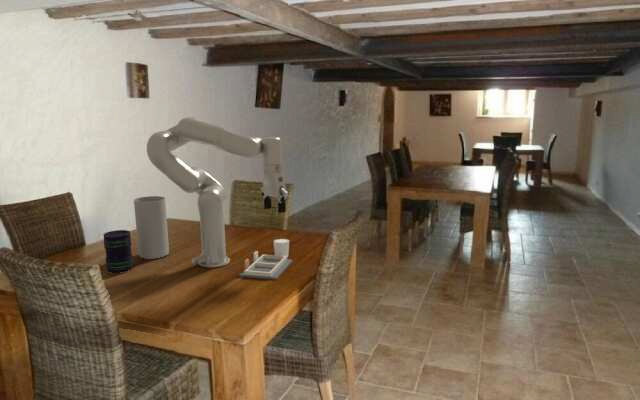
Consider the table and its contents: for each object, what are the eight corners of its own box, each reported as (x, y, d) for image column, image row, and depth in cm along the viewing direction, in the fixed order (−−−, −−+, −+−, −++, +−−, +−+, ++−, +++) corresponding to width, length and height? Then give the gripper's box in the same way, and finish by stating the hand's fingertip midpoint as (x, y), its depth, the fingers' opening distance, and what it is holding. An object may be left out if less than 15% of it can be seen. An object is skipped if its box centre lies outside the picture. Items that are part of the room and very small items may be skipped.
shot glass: (287, 259, 197) (287, 243, 195) (271, 258, 198) (271, 242, 196) (291, 254, 203) (291, 239, 202) (276, 253, 204) (276, 238, 203)
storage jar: (104, 275, 180) (100, 237, 177) (108, 266, 189) (105, 231, 186) (132, 272, 182) (128, 235, 179) (135, 264, 191) (131, 229, 188)
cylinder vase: (132, 257, 200) (127, 200, 195) (154, 249, 211) (150, 195, 206) (153, 261, 195) (148, 203, 190) (175, 253, 206) (171, 197, 201)
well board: (276, 279, 174) (276, 267, 173) (238, 276, 177) (238, 264, 176) (292, 261, 194) (292, 250, 193) (258, 259, 197) (258, 248, 196)
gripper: (293, 169, 181) (295, 212, 185) (268, 165, 194) (270, 205, 198) (277, 171, 176) (279, 215, 180) (253, 167, 189) (255, 208, 193)
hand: (274, 210), depth 189 cm, fingers open, 9 cm apart
